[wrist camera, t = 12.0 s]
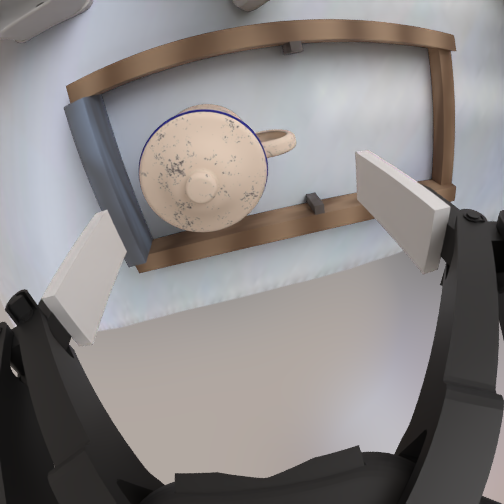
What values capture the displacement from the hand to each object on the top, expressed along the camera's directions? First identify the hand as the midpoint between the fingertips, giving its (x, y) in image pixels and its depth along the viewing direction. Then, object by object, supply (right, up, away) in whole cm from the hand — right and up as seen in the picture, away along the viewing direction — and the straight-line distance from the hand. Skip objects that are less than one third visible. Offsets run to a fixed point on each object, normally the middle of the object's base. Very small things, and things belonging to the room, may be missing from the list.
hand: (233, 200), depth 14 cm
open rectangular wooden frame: (+5, +10, +12) cm, 16 cm away
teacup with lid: (-2, +8, +12) cm, 15 cm away
